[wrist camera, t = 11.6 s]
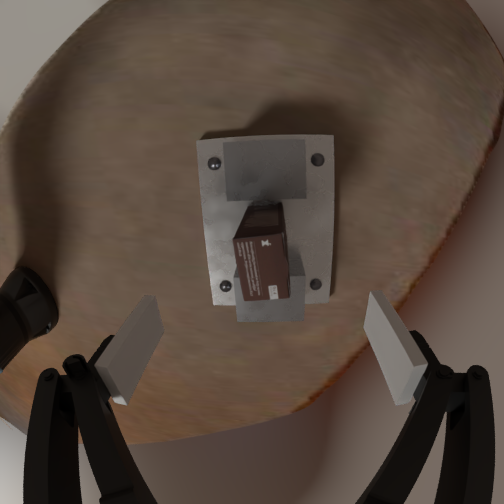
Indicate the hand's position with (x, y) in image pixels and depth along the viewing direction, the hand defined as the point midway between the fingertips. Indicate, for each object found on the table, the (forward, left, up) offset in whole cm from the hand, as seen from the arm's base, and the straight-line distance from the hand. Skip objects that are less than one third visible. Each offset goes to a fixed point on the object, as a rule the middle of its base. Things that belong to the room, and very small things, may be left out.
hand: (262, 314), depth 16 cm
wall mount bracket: (0, 0, -20) cm, 20 cm away
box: (0, 0, -19) cm, 19 cm away
